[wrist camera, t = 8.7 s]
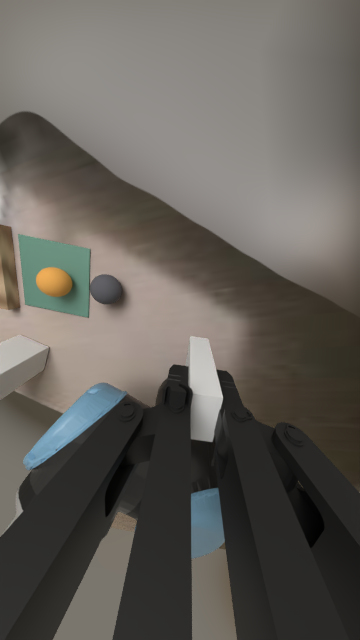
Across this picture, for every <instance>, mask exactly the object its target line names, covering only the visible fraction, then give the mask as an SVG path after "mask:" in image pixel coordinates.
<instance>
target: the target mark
mask: <svg viewBox="0 0 360 640" xmlns="http://www.w3.org/2000/svg"><path fill="white" fill-rule="evenodd" d="M18 238H19V248H20V258H21V267H22V277H23V287H24V297H25V304H26V305H31V306H36V307H40V308H45V309H50V310H55V311H60V312H64V313H69V314H74V315H79V316H84V317H89V285H90V249H87V248H83V247H78V246H73V245H68V244H63V243H58V242H54V241H49V240H44V239H39V238H34V237H30V236H25V235H20V234H18ZM48 267H55V268H59V269H62V270H64V271H65V272H66V273H67V274H68V275H69V276H70V277H71V280H72V288H71V290H70V292H69V293H68V294H66V295H64V296H61V297H52V296H49V295H46V294H45V293H43V292H42V291H41V290H40V289H39V288H38V286H37V284H36V276H37V274H38V273H39V272H40V271H41V270H42V269H45V268H48Z"/></svg>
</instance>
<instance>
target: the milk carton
mask: <svg viewBox="0 0 360 640" xmlns="http://www.w3.org/2000/svg"><path fill="white" fill-rule="evenodd" d="M48 351H49V347H48V346H46V345H43V344H41V343H39V342H36V341H34V340H32V339H29V338H27V337H25V336H22V335H18V336H15V337H13V338H10V339H8V340H5V341H3V342H0V400H1V399H2V398H4V397H5V396H7V395H8V394H9V393H11V392H12V391H14V390H15V389H17V388H18V387H20V386H21V385H22V384H24V383H25V382H27V381H28V380H30V379H31V378H32V377H34V376H35V375H37V374H38V373H40V372H41V371H42V370H44V368H45V363H46V359H47V355H48Z"/></svg>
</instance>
